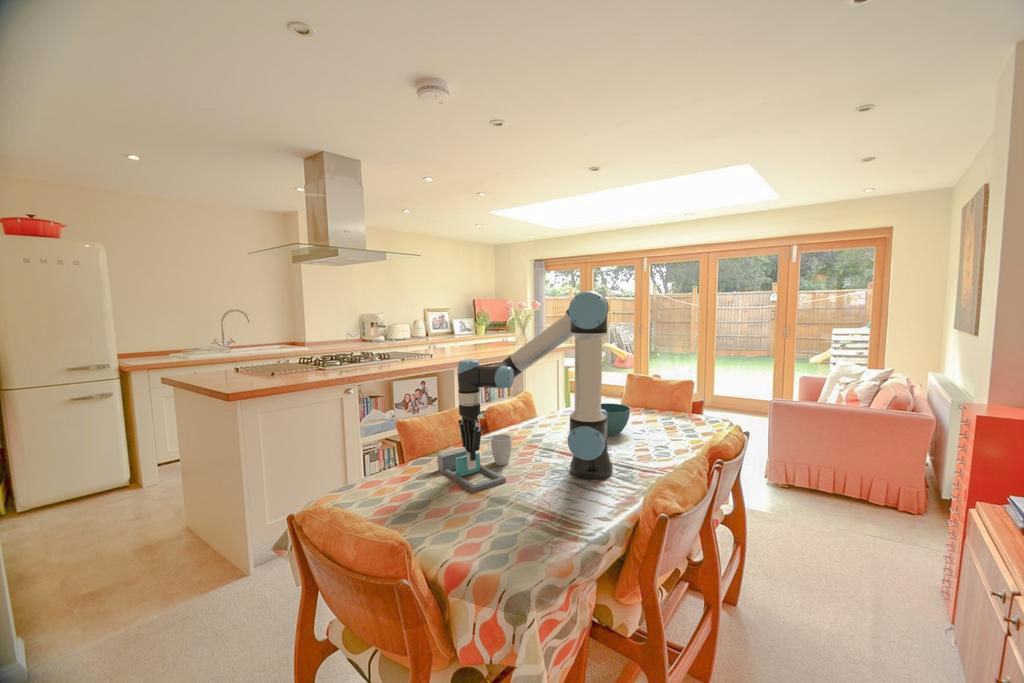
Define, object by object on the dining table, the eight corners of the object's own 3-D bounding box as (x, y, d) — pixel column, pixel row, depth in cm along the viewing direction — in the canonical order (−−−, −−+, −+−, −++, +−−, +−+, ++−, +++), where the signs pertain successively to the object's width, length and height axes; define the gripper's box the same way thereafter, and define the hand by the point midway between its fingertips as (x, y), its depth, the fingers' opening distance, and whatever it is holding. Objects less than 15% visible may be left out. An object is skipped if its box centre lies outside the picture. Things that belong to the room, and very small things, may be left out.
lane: (505, 482, 150) (505, 465, 150) (473, 492, 143) (473, 474, 142) (468, 461, 171) (467, 446, 170) (438, 469, 163) (437, 454, 163)
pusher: (480, 470, 160) (479, 453, 160) (457, 477, 155) (457, 459, 154) (473, 467, 164) (473, 449, 163) (451, 473, 159) (450, 455, 158)
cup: (515, 460, 171) (515, 435, 170) (506, 467, 163) (506, 441, 163) (497, 457, 174) (496, 433, 173) (487, 464, 167) (486, 439, 166)
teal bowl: (599, 425, 215) (599, 401, 214) (635, 431, 205) (635, 405, 203) (583, 435, 201) (583, 409, 199) (621, 442, 190) (621, 414, 189)
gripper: (488, 405, 151) (490, 471, 153) (469, 398, 161) (471, 461, 163) (469, 408, 146) (472, 476, 148) (451, 402, 157) (453, 465, 159)
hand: (471, 468), depth 156 cm, fingers closed
